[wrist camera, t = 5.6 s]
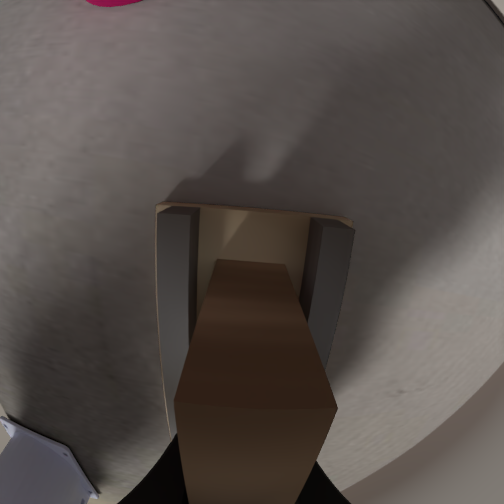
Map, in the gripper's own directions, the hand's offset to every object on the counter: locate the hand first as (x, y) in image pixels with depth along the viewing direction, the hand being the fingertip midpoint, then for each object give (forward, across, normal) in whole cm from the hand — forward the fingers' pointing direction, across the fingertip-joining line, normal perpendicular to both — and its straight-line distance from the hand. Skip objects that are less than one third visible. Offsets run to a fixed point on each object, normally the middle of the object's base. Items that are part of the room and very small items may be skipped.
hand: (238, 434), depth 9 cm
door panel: (+3, 0, 0) cm, 3 cm away
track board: (+4, 0, 0) cm, 4 cm away
